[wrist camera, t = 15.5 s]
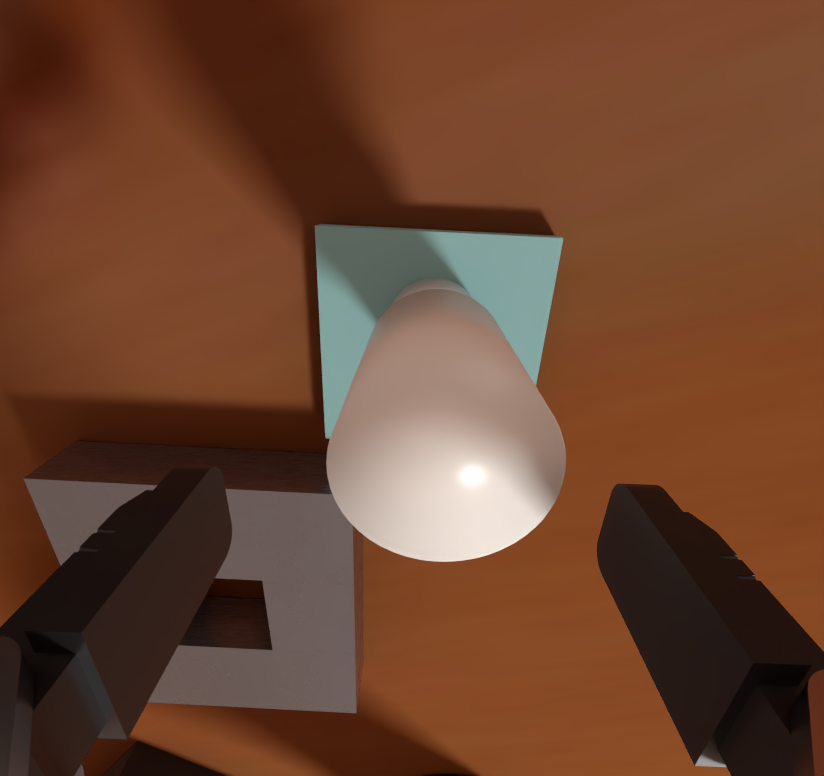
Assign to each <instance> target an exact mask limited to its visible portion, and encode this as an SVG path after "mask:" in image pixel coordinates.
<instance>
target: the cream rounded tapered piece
mask: <svg viewBox="0 0 824 776" xmlns="http://www.w3.org/2000/svg"><path fill="white" fill-rule="evenodd" d="M326 466H327V477H328V481H329V485H330V489H331V492H332V494H333V497H334V499H335V501H336V503H337V505H338V506H339V508H340V510H341V512H342V513H343V514H344V516H345V517H346V518H347V519H348V521H349V522H350V523H351V524H352V525H353V526H354V527H355V528H356V529H357V530H358V531H359V532H360V533H362V534H363V535H364V536H366V537H367V538H368V539H370V540H371V541H373V542H375V543H376V544H378V545H379V546H381V547H383V548H386V549H388V550H390V551H392V552H395V553H397V554H400V555H403V556H406V557H411V558H415V559H419V560H427V561H441V562H450V561H462V560H468V559H474V558H478V557H482V556H486V555H489V554H492V553H494V552H497V551H499V550H502V549H504V548H506V547H508V546H510V545H512V544H514V543H515V542H517V541H518V540H520V539H521V538H523V537H524V536H526V535H527V534H528V533H529V532H530V531H532V530H533V529H534V528H535V527H536V526H537V525H538V524H539V523H540V522H541V521H542V520H543V519H544V518H545V516H546V515H547V513H548V512H549V511H550V509H551V508H552V506H553V505H554V503H555V501H556V499H557V497H558V495H559V492H560V490H561V487H562V484H563V480H564V475H565V470H566V452H565V444H564V440H563V437H562V433H561V430H560V428H559V425H558V423H557V421H556V419H555V417H554V415H553V414H552V412H551V410H550V409H549V407H548V406H547V404H546V402H545V401H544V399H543V397H542V396H541V394H540V392H539V391H538V389H537V388H536V386H535V384H534V383H533V381H532V379H531V378H530V376H529V374H528V373H527V371H526V370H525V368H524V366H523V365H522V363H521V361H520V360H519V358H518V356H517V355H516V353H515V352H514V350H513V348H512V347H511V345H510V343H509V342H508V340H507V338H506V337H505V335H504V334H503V332H502V330H501V329H500V327H499V325H498V324H497V322H496V321H495V319H494V318H493V316H492V315H491V314H490V312H489V311H488V310H487V309H486V308H485V307H484V306H482V305H481V304H480V303H479V302H477V301H476V300H474V299H473V298H472V297H471V295H470V294H469V293H468V292H467V291H466V290H465V289H464V288H463V287H462V286H461V285H459V284H457V283H456V282H454V281H451V280H449V279H445V278H440V277H428V278H423V279H419V280H416V281H414V282H412V283H410V284H408V285H407V286H406V287H404V288H403V289H402V290H401V291H400V292H399V293H398V294H397V296H396V297H395V299H394V300H393V302H392V304H391V306H390V307H389V308H388V309H387V310H386V311H385V312H384V313H383V314H382V316H381V317H380V318H379V320H378V321H377V323H376V325H375V326H374V329H373V331H372V333H371V336H370V338H369V341H368V344H367V346H366V349H365V351H364V354H363V356H362V359H361V361H360V364H359V366H358V369H357V371H356V374H355V376H354V379H353V381H352V384H351V386H350V389H349V391H348V394H347V396H346V399H345V401H344V404H343V406H342V409H341V411H340V414H339V416H338V419H337V421H336V424H335V427H334V429H333V432H332V434H331V437H330V440H329V445H328V449H327V460H326Z"/></svg>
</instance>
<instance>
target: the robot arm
mask: <svg viewBox="0 0 824 776" xmlns="http://www.w3.org/2000/svg"><path fill="white" fill-rule="evenodd" d="M231 540H232V523H231V517H230V512H229V506H228V501H227V495H226V490H225V484H224V479H223V474H222V472H221V470H220V469H219V468H218V467H206V466H176V467H175V468H173V469H172V470H171V471H170V472H169V473H168V475H167V476H166V477H165V478H164V479H163V480H162V481H161V482H160V483H159V484H158V485H157V486H156V488H155V489H154V490H146V491H144V492H142V493H141V494H139V495H137V496H136V497H134V498H133V499H131V500H129V501H128V502H126V503H125V504H123V505H121V506H120V507H118V508H117V509H116V510H115V511H114V512H113V513H112V514H111V515H110V516H109V517H108V518H107V519H106V520H105V521H104V522H103V523H102V524H101V526H100V527H99V528H98V531H97V533H93V534H92V535H91V536H90V537H89V538H88V539H87V540H86V541H85V542H84V543H83V544H82V545H81V546H80V547H79V551H78V552H74V553H73V554H72V555H71V556H70V557H69V558H68V559H67V560H66V561H65V562H64V563H63V564H62V565H61V566H60V567H59V568H58V569H57V570H56V571H55V572H54V573H53V574H52V575H51V576H50V577H49V578H48V579H47V580H46V581H45V582H44V583H43V584H42V585H41V586H40V587H39V589H38V590H37V591H36V592H35V593H34V594H33V595H32V596H31V597H30V598H29V599H28V600H27V601H26V602H25V603H24V604H23V605H22V606H21V607H20V608H19V609H18V610H17V611H16V612H15V613H14V614H13V615H12V616H11V617H10V618H9V619H8V620H7V621H6V622H5V623H4V624H3V625H2V626H1V627H0V776H84V769H83V766H82V762H83V761H84V759H85V757H86V756H87V754H88V752H89V751H90V749H91V747H92V746H93V744H94V742H95V741H96V739H97V738H104V739H128V737H129V735H130V733H131V732H132V730H133V728H134V726H135V724H136V722H137V721H138V719H139V717H140V715H141V713H142V711H143V709H144V708H145V706H146V704H147V702H148V700H149V698H150V697H151V695H152V693H153V691H154V689H155V687H156V686H157V684H158V682H159V680H160V678H161V676H162V675H163V673H164V671H165V669H166V667H167V665H168V664H169V662H170V660H171V658H172V656H173V654H174V653H175V651H176V649H177V647H178V645H179V643H180V641H181V640H182V638H183V636H184V634H185V632H186V630H187V629H188V627H189V625H190V623H191V621H192V619H193V618H194V616H195V614H196V612H197V610H198V608H199V607H200V605H201V603H202V601H203V599H204V597H205V596H206V594H207V592H208V590H209V588H210V586H211V584H212V583H213V581H214V579H215V577H216V575H217V573H218V572H219V570H220V568H221V566H222V564H223V562H224V561H225V559H226V557H227V554H228V552H229V549H230V545H231ZM597 558H598V564H599V568H600V571H601V573H602V576H603V578H604V580H605V582H606V584H607V586H608V588H609V590H610V592H611V594H612V596H613V598H614V600H615V602H616V604H617V607H618V609H619V611H620V613H621V615H622V617H623V619H624V621H625V623H626V625H627V627H628V629H629V631H630V633H631V635H632V637H633V640H634V642H635V644H636V646H637V648H638V650H639V652H640V654H641V656H642V658H643V660H644V662H645V664H646V666H647V668H648V670H649V672H650V675H651V677H652V679H653V681H654V683H655V685H656V687H657V689H658V691H659V693H660V695H661V697H662V699H663V701H664V703H665V705H666V707H667V710H668V712H669V714H670V716H671V718H672V720H673V722H674V724H675V726H676V728H677V730H678V732H679V734H680V736H681V738H682V740H683V742H684V745H685V747H686V749H687V751H688V753H689V755H690V757H691V759H692V761H693V763H694V765H695V766H715V767H727V768H728V770H729V772H730V774H731V776H824V652H823V651H822V650H821V648H820V647H819V646H818V645H817V644H816V643H815V642H814V641H813V639H812V638H811V637H810V636H809V635H808V634H807V633H806V632H805V631H804V629H803V628H802V627H801V626H800V625H799V624H798V623H797V622H796V620H795V619H794V618H793V617H792V616H791V615H790V614H789V613H788V611H787V610H786V609H785V608H784V607H783V606H782V605H781V604H780V603H779V601H778V600H777V599H776V598H775V597H774V596H773V595H772V594H771V592H770V591H769V590H768V589H767V588H766V587H765V586H764V585H763V583H762V582H761V581H757V580H756V579H755V575H754V573H753V572H752V571H751V570H750V569H749V568H748V567H747V566H746V564H745V563H744V562H743V561H742V560H738V558H737V554H736V553H735V552H734V551H733V550H732V549H731V548H730V547H729V545H728V544H727V543H726V542H725V541H724V540H723V539H722V538H721V536H720V535H719V534H718V533H717V532H716V531H714V530H713V529H712V528H710V527H709V526H707V525H706V524H704V523H703V522H702V521H700V520H699V519H697V518H696V517H695V516H693V515H692V514H690V513H689V512H683V511H682V510H681V509H680V508H679V507H678V505H677V504H676V503H675V502H674V501H673V499H672V498H671V497H670V496H669V495H668V493H667V492H666V491H665V490H664V489H663V488H662V487H660V486H658V485H641V484H617V485H616V486H615V487H614V488H613V490H612V493H611V496H610V499H609V503H608V507H607V510H606V514H605V517H604V521H603V524H602V528H601V531H600V535H599V538H598V543H597Z"/></svg>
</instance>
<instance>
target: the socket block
mask: <svg viewBox="0 0 824 776" xmlns="http://www.w3.org/2000/svg"><path fill="white" fill-rule="evenodd" d="M326 460H327V454H325V453H306V452H286V451H267V450H247V449H228V448H208V447H189V446H169V445H149V444H130V443H110V442H91V441H75V442H74V443H73V444H71V445H70V446H68V447H67V448H66V449H64V450H63V451H61V452H60V453H59V454H57V455H56V456H54V457H53V458H52V459H50V460H49V461H47V462H46V463H45V464H43V465H42V466H40V467H39V468H38V469H36V470H35V471H33V472H32V473H31V474H29V475H28V476H26V477H25V478H24V481H25V483H26V486H27V488H28V490H29V493H30V495H31V497H32V500H33V502H34V504H35V507H36V509H37V512H38V514H39V516H40V519H41V521H42V523H43V526H44V528H45V530H46V533H47V535H48V537H49V540H50V542H51V544H52V547H53V549H54V551H55V554H56V556H57V558H58V561H59V563H60V565H62V564H63V563H64V562H65V561H66V560H67V559H68V558H69V557H70V556H71V555H72V554H73V553H74V552H78V551H79V547H80V546H81V545H82V544H83V543H84V542H85V541H86V540H87V539H88V538H89V537H90V536H91V535H92V534H93V533H97V531H98V528H99V527H100V526H101V524H102V523H103V522H104V521H105V520H106V519H107V518H108V517H109V516H110V515H111V514H112V513H113V512H114V511H115V510H116V509H117V508H118V507H120V506H121V505H123V504H125V503H126V502H128V501H129V500H131V499H133V498H134V497H136V496H137V495H139V494H141V493H142V492H144V491H146V490H154V489H155V488H156V486H157V485H158V484H159V483H160V482H161V481H162V480H163V479H164V478H165V477H166V476H167V475H168V473H169V472H170V471H171V470H172V469H173V468H175V467H176V466H206V467H218V468H219V469H220V470H221V472H222V474H223V479H224V484H225V490H226V495H227V501H228V506H229V512H230V517H231V523H232V540H231V545H230V549H229V552H228V554H227V557H226V559H225V561H224V562H223V564H222V566H221V568H220V570H219V572H218V573H217V575H216V577H215V578H221V579H241V580H260V581H262V583H263V589H264V596H265V599H251V598H232V597H213V596H205V597H204V599H203V601H202V603H201V605H200V607H199V608H198V610H197V612H196V614H195V616H194V618H193V619H192V621H191V623H190V625H189V627H188V629H187V630H186V632H185V634H184V636H183V638H182V640H181V641H180V643H179V645H178V647H177V649H176V651H175V653H174V654H173V656H172V658H171V660H170V662H169V664H168V665H167V667H166V669H165V671H164V673H163V675H162V676H161V678H160V680H159V682H158V684H157V686H156V687H155V689H154V691H153V693H152V695H151V697H150V698H149V700H148V702H152V703H171V704H190V705H209V706H228V707H246V708H265V709H284V710H303V711H322V712H341V713H357V705H358V697H359V690H360V682H361V674H362V666H363V578H362V533H360V532H359V531H358V530H357V529H356V528H355V527H354V526H353V525H352V524H351V523H350V522H349V521H348V519H347V518H346V517H345V516H344V514H343V513H342V512H341V510H340V508H339V506H338V505H337V503H336V501H335V499H334V497H333V494H332V492H331V489H330V485H329V481H328V477H327V466H326Z"/></svg>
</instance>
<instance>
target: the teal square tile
mask: <svg viewBox="0 0 824 776" xmlns="http://www.w3.org/2000/svg"><path fill="white" fill-rule="evenodd" d="M315 242H316V262H317V282H318V302H319V322H320V342H321V362H322V382H323V402H324V422H325V438H327V439H330V437H331V434H332V432H333V429H334V427H335V424H336V421H337V419H338V416H339V414H340V411H341V409H342V406H343V404H344V401H345V399H346V396H347V394H348V391H349V389H350V386H351V384H352V381H353V379H354V376H355V374H356V371H357V369H358V366H359V364H360V361H361V359H362V356H363V354H364V351H365V349H366V346H367V344H368V341H369V338H370V336H371V333H372V331H373V329H374V326H375V325H376V323H377V321H378V320H379V318H380V317H381V316H382V314H383V313H384V312H385V311H386V310H387V309H388V308H389V307H390V306H391V304H392V302H393V300H394V299H395V297H396V296H397V294H398V293H399V292H400V291H401V290H402V289H403V288H404V287H406V286H407V285H408V284H410V283H412V282H414V281H416V280H419V279H423V278H428V277H440V278H445V279H449V280H451V281H454V282H456V283H457V284H459V285H461V286H462V287H463V288H464V289H465V290H466V291H467V292H468V293H469V294H470V295H471V297H472V298H473V299H474V300H476V301H477V302H479V303H480V304H481V305H482V306H484V307H485V308H486V309H487V310H488V311H489V312H490V314H491V315H492V316H493V318H494V319H495V321H496V322H497V324H498V325H499V327H500V329H501V330H502V332H503V334H504V335H505V337H506V338H507V340H508V342H509V343H510V345H511V347H512V348H513V350H514V352H515V353H516V355H517V356H518V358H519V360H520V361H521V363H522V365H523V366H524V368H525V370H526V371H527V373H528V374H529V376H530V378H531V379H532V381H533V383H534V384H535V386H536V382H537V377H538V372H539V366H540V361H541V356H542V350H543V345H544V339H545V334H546V329H547V323H548V318H549V313H550V307H551V302H552V297H553V291H554V286H555V281H556V275H557V270H558V264H559V259H560V254H561V248H562V243H563V238H562V237H558V236H554V235H534V234H514V233H494V232H473V231H453V230H433V229H413V228H393V227H372V226H352V225H332V224H319V225H316V226H315Z"/></svg>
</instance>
